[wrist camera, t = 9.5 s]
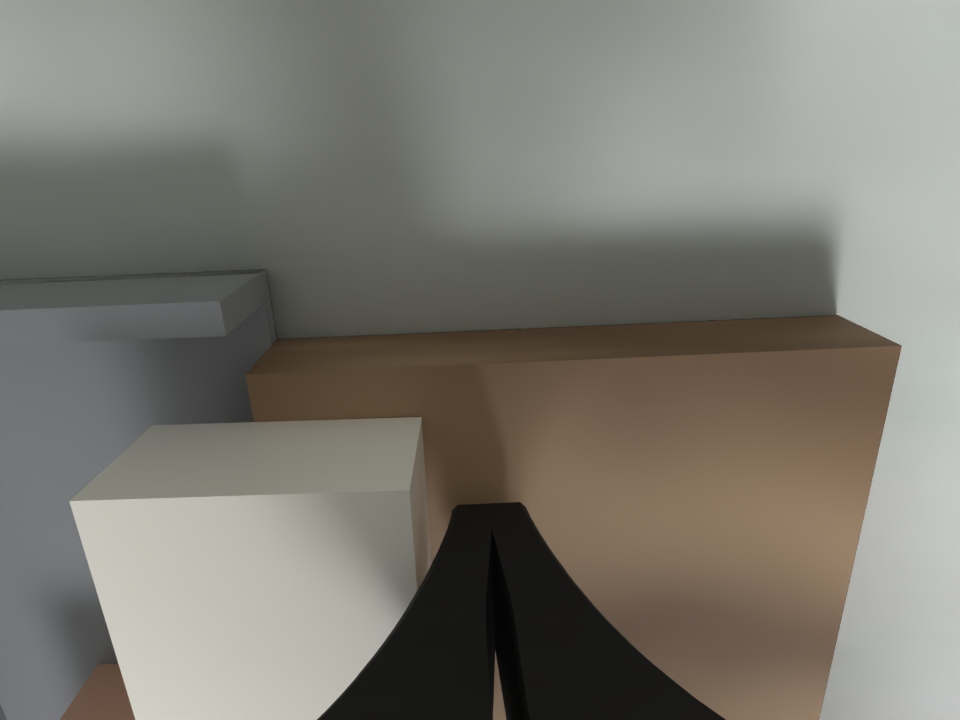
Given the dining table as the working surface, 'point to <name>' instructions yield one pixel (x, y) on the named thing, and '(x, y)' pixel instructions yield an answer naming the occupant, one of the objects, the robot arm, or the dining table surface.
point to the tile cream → (255, 560)
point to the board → (646, 472)
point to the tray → (97, 439)
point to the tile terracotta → (101, 697)
